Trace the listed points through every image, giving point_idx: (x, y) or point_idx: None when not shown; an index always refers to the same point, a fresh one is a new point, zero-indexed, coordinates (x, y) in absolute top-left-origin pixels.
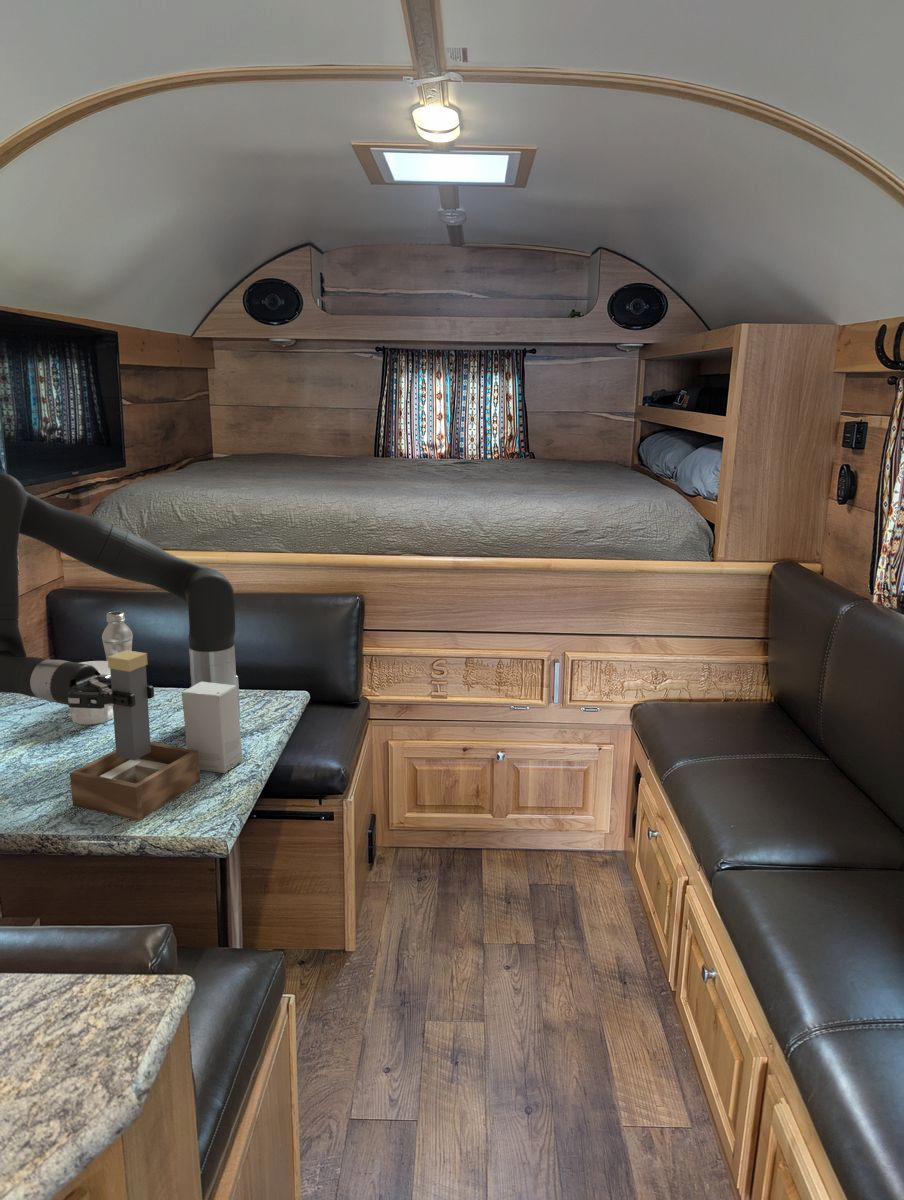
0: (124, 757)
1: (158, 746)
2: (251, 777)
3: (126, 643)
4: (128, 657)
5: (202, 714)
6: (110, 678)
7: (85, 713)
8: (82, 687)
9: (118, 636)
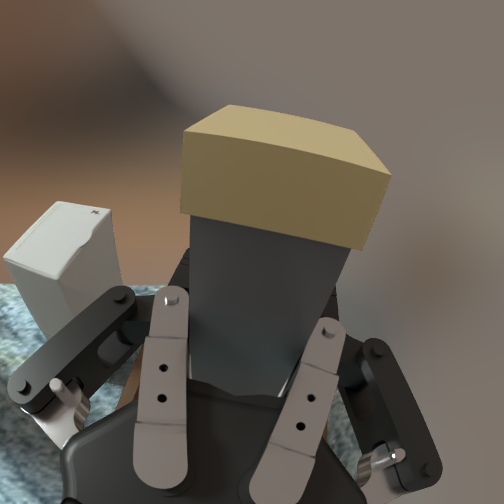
0: None
1: (134, 396)
2: (143, 292)
3: None
4: (323, 127)
5: (100, 276)
6: (184, 400)
7: None
8: (340, 498)
9: None
